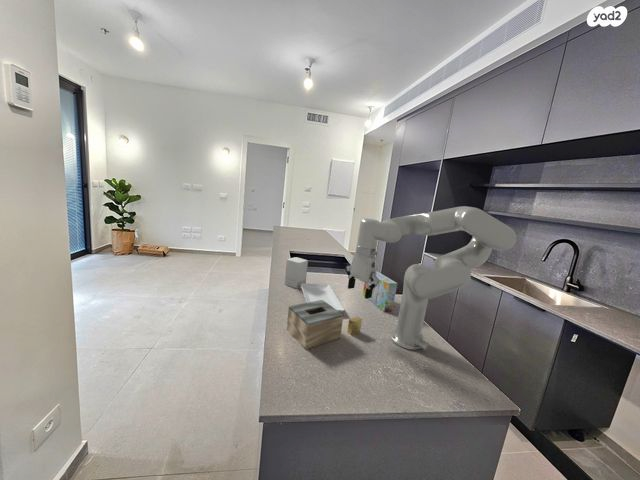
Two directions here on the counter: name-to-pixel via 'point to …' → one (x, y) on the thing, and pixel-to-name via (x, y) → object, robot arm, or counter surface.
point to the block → (354, 325)
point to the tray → (321, 295)
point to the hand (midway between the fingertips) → (359, 292)
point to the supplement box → (296, 272)
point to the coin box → (314, 323)
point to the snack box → (383, 293)
